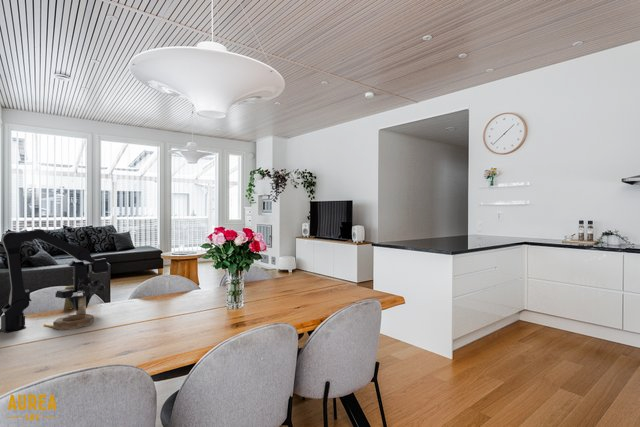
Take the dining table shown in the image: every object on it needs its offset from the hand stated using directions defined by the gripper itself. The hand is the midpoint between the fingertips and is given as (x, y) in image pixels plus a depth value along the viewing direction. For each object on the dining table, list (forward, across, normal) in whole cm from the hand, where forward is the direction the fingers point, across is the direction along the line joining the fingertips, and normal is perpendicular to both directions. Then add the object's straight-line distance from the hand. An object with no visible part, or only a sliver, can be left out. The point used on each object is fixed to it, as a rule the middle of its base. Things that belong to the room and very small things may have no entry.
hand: (81, 309), depth 156 cm
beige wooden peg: (+3, 0, 0) cm, 3 cm away
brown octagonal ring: (+4, -8, -8) cm, 12 cm away
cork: (+4, +8, +20) cm, 22 cm away
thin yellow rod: (+4, -14, -2) cm, 15 cm away
